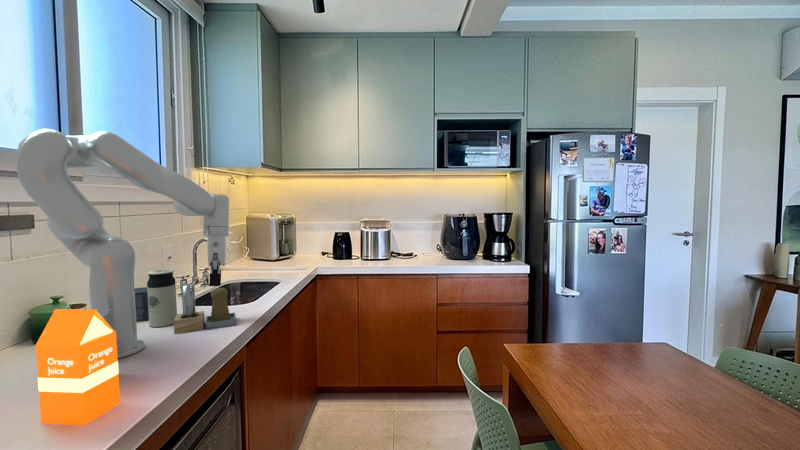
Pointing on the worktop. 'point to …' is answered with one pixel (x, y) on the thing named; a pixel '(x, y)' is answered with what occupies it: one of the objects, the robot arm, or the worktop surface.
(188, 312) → the silver rectangular bar
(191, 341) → the worktop surface
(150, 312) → the travel mug
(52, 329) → the orange juice
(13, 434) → the worktop surface
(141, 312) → the box
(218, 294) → the olive green tall block
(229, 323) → the tray
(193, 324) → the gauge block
